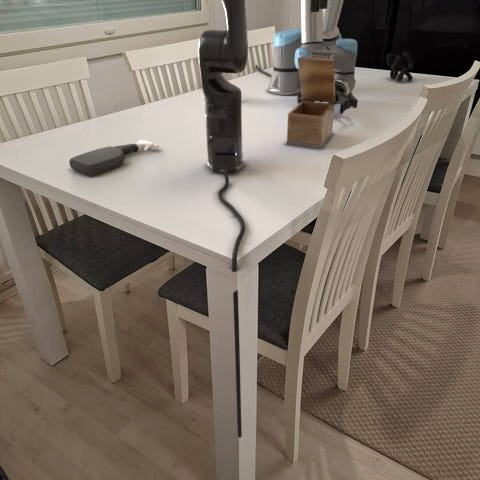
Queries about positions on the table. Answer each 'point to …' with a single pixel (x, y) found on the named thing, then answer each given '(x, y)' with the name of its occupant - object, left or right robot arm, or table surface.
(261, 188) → the table surface
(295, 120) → the chest
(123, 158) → the spray bottle
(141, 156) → the table surface
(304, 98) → the wooden door panel
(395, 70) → the squiggle
